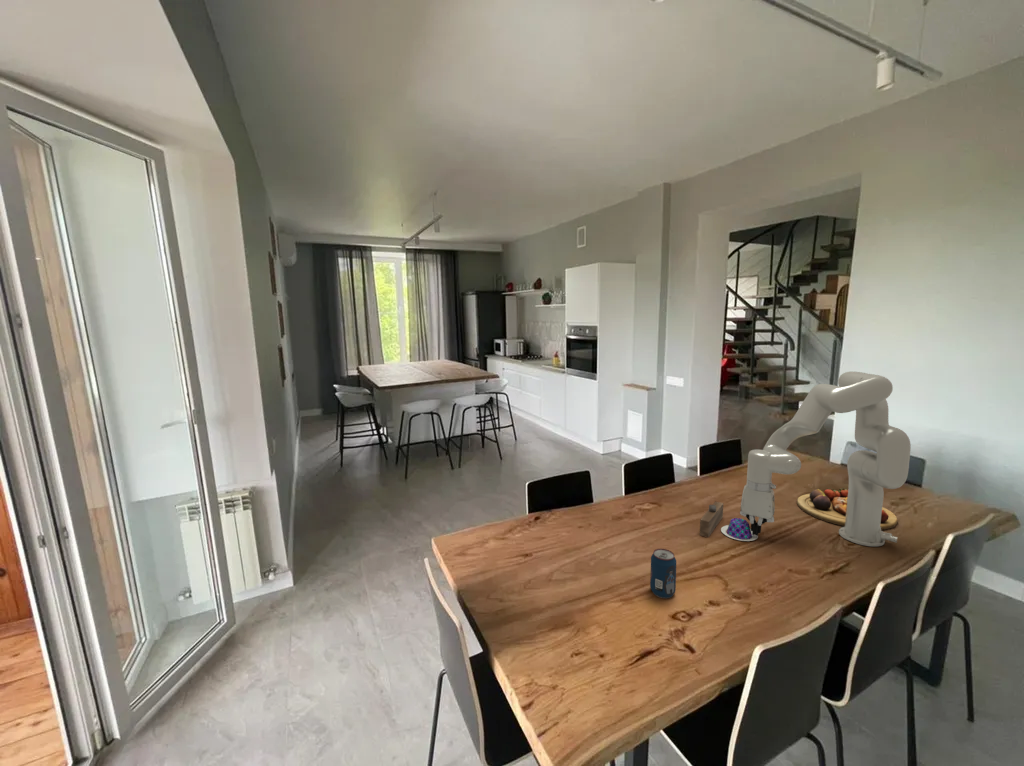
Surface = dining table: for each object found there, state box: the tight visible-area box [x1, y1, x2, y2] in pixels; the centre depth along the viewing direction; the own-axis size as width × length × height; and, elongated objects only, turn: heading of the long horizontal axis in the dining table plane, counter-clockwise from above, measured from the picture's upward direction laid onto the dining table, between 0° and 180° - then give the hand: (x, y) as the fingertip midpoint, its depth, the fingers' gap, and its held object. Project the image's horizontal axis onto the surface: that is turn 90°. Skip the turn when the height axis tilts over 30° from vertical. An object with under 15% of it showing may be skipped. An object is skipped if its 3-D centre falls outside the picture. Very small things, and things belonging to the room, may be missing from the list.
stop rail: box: [699, 501, 724, 538], centre depth 162 cm, size 3×20×8 cm, turn 140°
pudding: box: [720, 517, 759, 542], centre depth 156 cm, size 12×12×5 cm
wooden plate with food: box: [796, 487, 899, 531], centre depth 171 cm, size 32×32×8 cm
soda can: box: [649, 548, 677, 599], centre depth 123 cm, size 7×7×12 cm
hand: (755, 533), depth 153 cm, fingers closed
